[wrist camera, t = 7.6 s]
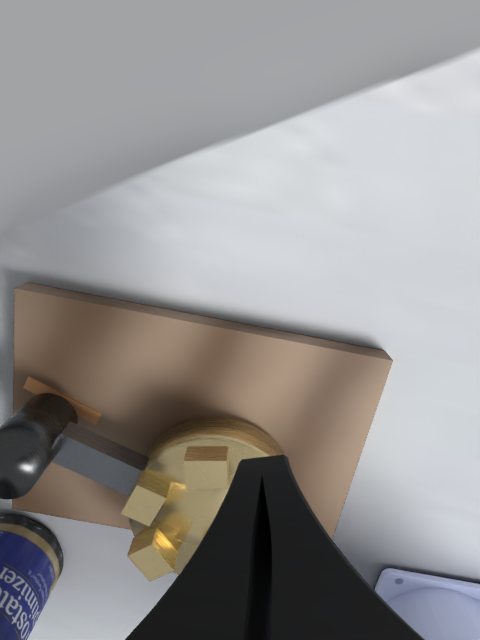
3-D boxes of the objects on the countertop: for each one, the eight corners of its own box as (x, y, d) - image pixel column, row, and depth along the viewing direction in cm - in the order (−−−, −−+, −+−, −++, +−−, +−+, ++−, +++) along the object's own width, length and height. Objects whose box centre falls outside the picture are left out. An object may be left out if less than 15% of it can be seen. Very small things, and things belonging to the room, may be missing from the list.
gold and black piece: (321, 459, 20) (340, 534, 16) (247, 561, 23) (245, 652, 18) (61, 331, 19) (0, 376, 14) (9, 456, 21) (-57, 528, 17)
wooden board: (385, 350, 20) (393, 361, 19) (320, 545, 24) (324, 565, 23) (28, 282, 20) (13, 288, 18) (23, 493, 24) (11, 510, 23)
